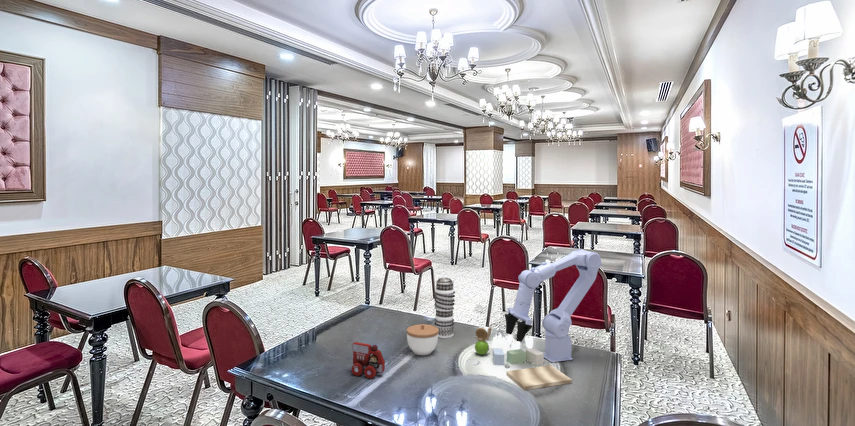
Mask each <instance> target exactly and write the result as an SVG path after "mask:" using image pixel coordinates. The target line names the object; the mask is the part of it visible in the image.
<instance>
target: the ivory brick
mask: <svg viewBox="0 0 855 426" xmlns="http://www.w3.org/2000/svg"><path fill="white" fill-rule="evenodd" d="M525 352H526V361H527V360H528V361H527V362H529V363H530V364H532V363H533V365H535V367H538V366H540V365H544V359H545V358H544V353H545V352H542V351H539V350H538V349H536V348H534V347H532V348H528V349H525Z"/></svg>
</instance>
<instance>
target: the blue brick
mask: <svg viewBox="0 0 855 426" xmlns="http://www.w3.org/2000/svg"><path fill="white" fill-rule="evenodd" d="M492 360H493V365H495V366H505V353H504V351H503V348H492Z"/></svg>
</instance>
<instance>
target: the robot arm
mask: <svg viewBox="0 0 855 426" xmlns="http://www.w3.org/2000/svg"><path fill="white" fill-rule="evenodd" d="M602 264H603V263H602V259H601V255H600V254H599V253H597V252H595V251H588V250H585V249H582V248H578V249H576V250H573V251H571V252H570V253H569V254H567V255H565V256H564V257H561V258H560V259H558V260H555V261H554V262H548V261H547V262H546V261H543V262H541V264H539V265H537V266H535V267H534V266H532V267H531V268H530V269H525V270H523V271H521V273H520V274H519V275H518V277H517V278H518V282H519V285H518V289H517V293H516V295H515V296H516V298H515V299H514V300H515V301H514V304H513V308H512V307H508V308H507V311H506V313H504V318H505V334H506V335H512V334H513V333H514V330H515V327H516V325H517V328H516V329H517V330H516V337H515V340H516V342H520V343H522V342H523V340H524V339H525V337H526V335H527V334H528V332H529V331H530V330H531V329H532V328H533V319H532V318H530V316H529V312H530V309H531V305H532V300H533V297H534V293H535V289H536V288H537V287H539V285H540V284H541V282H544V281H546V280H548V279H551V278H553V277H554V276H555V275H556V273H557V272H559V271H562V270H563V269H566V268H569V267H571V266H575V267H576V269H577V270H578V273H579V276H578V278H577V279H576V281H575V282H574V283H573V285H572V286H571V288H570V290H569V291H568V292H567V294H566V295H565V296H564V298H563V300H562V301H561V303H560V304H559V306H558V307H556V308H555V309H552V310H551V311H550V312H549V313H548V314H546V315H545V316H544V317H543V318H542V322H541V323H542V328H543V329H544V330H545V331H544V333H545V339H544V352H543V353H544V359H546V360H547V361H549V362H550V363H555V362H556V363H559V362H564V361H572V360H573V359H574V358H573V357H572V349H573V348H572V345H573V342H572V338H571V336H570V334H568V333H569V332H570V327H571V325H572V324H573V322H572V318H571V316H572V315H573V313H574V312H575V311H576V309H577V308H578V306H579V305H580V303H581V302H582V300H583V299H584V297H586V294H587V293H588V291H589V290H590V289H591V287H592V286H593V284H594V283H595V281H596V279H597V275H598V272H599V269H600V268H601V266H602Z"/></svg>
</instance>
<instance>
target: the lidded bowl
mask: <svg viewBox="0 0 855 426" xmlns="http://www.w3.org/2000/svg"><path fill="white" fill-rule="evenodd" d="M438 333H439V329H438V328H437V327H435V325H432V324H424V323H421V324H414V325H411V326H408V327H407V328H406V340H407V345H408V347H409V348H410V350H411V351H412V352H413V354H414V355H418V356H428V355H431V354H432V352H433V351H434V350H435V349H436V347H437V345H438V342H439V341H438V340H439V337H438Z"/></svg>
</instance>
